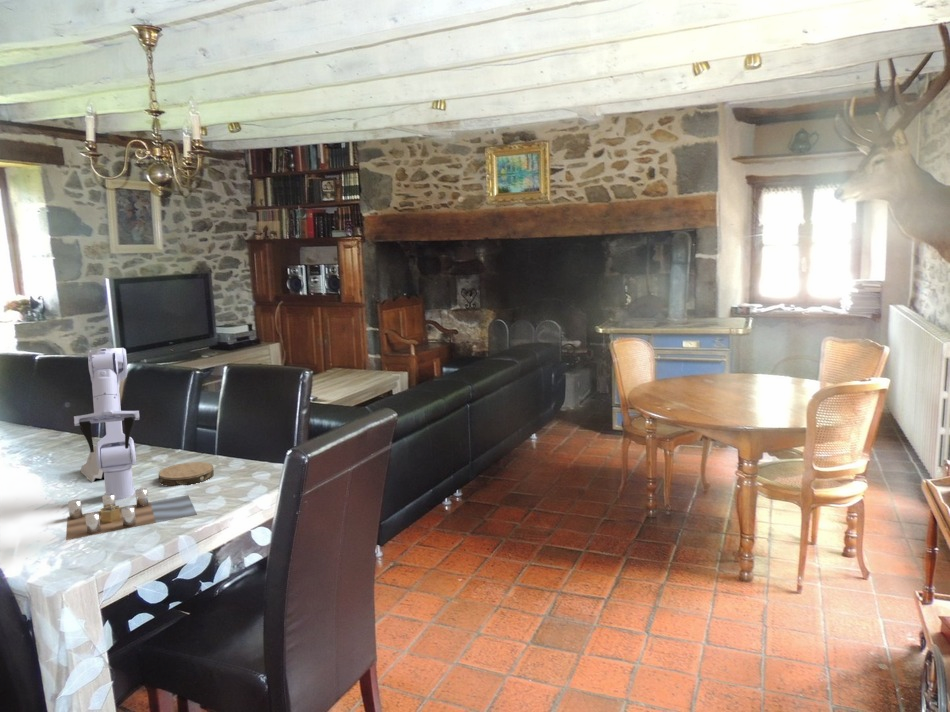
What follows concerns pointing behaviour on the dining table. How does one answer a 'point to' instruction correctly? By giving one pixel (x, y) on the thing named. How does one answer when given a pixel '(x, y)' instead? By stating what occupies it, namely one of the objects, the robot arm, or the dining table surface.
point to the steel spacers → (108, 500)
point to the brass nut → (110, 514)
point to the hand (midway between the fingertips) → (109, 449)
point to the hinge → (92, 467)
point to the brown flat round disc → (186, 474)
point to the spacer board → (137, 516)
